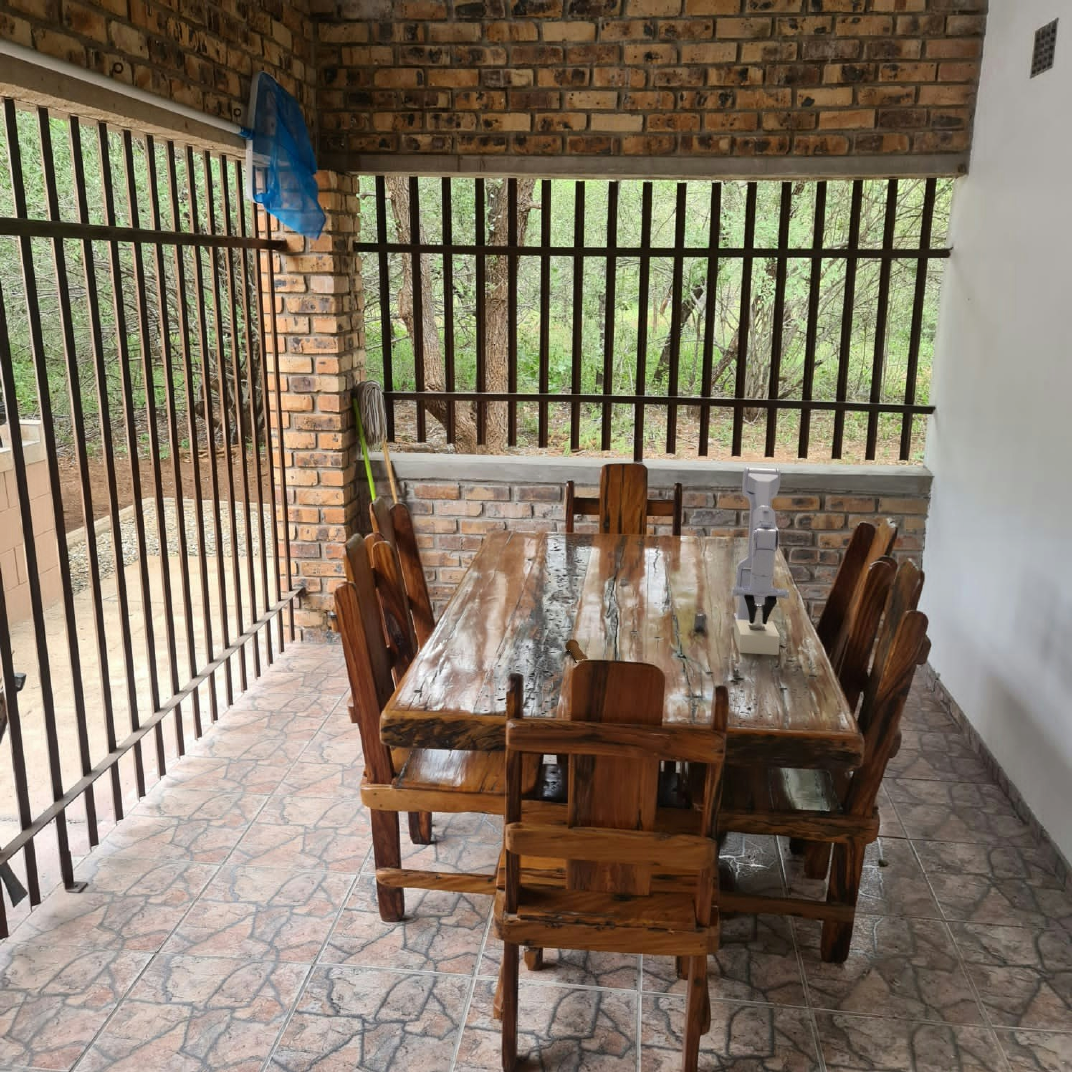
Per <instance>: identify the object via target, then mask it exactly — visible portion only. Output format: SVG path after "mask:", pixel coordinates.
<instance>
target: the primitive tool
mask: <svg viewBox="0 0 1072 1072" xmlns="http://www.w3.org/2000/svg"><path fill="white" fill-rule="evenodd" d="M579 646H580V644H579V641H577V640H576V639H572V638H571V639H569V640H568V641H567V642H566V643H565V650H566V651H567V650H570V651H569V652H570V654H571V653H572V654H571V655H572V657H573V658H574V660H582V659H589V657H588V656H587V655H586V654H585V653H584V652H583V650H582V649H581V648H580V647H579Z"/></svg>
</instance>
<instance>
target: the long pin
mask: <svg viewBox="0 0 1072 1072" xmlns="http://www.w3.org/2000/svg"><path fill="white" fill-rule="evenodd" d="M764 614H765V605H764V604H761V603H755V605H754V613H753V624H752V628H751V630H757V631H763V625H764Z"/></svg>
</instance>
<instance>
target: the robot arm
mask: <svg viewBox="0 0 1072 1072" xmlns="http://www.w3.org/2000/svg"><path fill="white" fill-rule="evenodd" d="M780 487H781V470H780V469H779V468H768V467H767V468H766V467H763V468H762V467H749V466H745V468H743V473H742V487H741V488H742V489H741V490H742V491H741V493H742V496H743V497H744V498H746V499H747V500H748V503H749V521H748V524H749V525H748V538H747V539H748V540H747V554H746V555H747V556H746V557H744V558H743V559H742V560H740V561H738V563H737V565H736V571H735V579H734V581H735V582H734V584H735V586H732V587H731V596H732V597H737V596H738V603H737V613H736V612H735V613H733V616H734V619H738V620H749V622H750V624H753V613H754V605H755V603H761V604H764V605H765V614H764V624H767V621H769V617H770V615H771V612H772V611H773V609H774V608H775V606H776V605H777V602H778V600H777V598H778V599H785V600H789V599H790V590H789V589H784V588H783V589H781V588H775V587H773V581H774V573H775V560H776V552H777V551H778V549H779V543H780V533H779V528H778V526H777V525H776V512H775V510H774V508H772V506H771V505H772V500H773V499H775V498H776V496H777V495H778V492H779V489H780Z"/></svg>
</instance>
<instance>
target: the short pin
mask: <svg viewBox="0 0 1072 1072" xmlns="http://www.w3.org/2000/svg"><path fill="white" fill-rule="evenodd" d="M706 621H707V615H706V613H704V612H703V613H702V612H696V613H695V614H694V621H693V622H694V623H693V631H694V632H698V633H704V632H705V631H706Z"/></svg>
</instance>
